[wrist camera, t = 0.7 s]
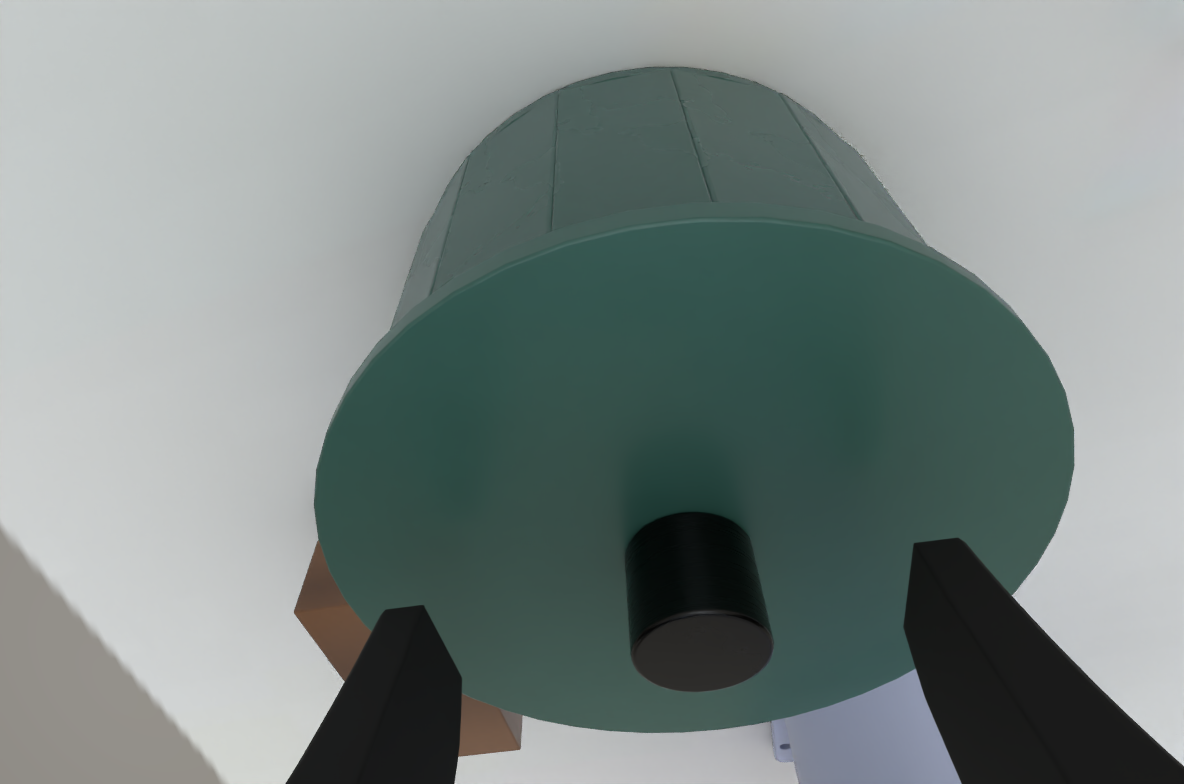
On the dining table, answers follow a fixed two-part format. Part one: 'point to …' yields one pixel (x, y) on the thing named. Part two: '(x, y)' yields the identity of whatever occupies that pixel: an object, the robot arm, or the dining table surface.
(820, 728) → the robot arm
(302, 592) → the brown rectangular block
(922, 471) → the pot lid
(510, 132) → the pot
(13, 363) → the dining table surface
